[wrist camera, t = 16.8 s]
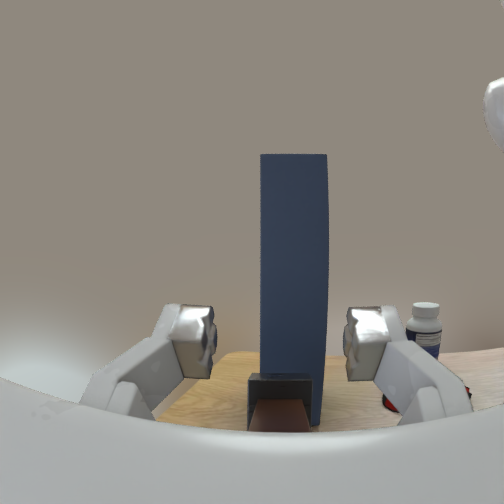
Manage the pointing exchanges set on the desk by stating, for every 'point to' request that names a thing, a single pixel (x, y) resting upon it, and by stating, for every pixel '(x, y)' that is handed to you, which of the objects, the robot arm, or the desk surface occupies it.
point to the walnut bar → (279, 402)
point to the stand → (294, 267)
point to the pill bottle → (425, 327)
